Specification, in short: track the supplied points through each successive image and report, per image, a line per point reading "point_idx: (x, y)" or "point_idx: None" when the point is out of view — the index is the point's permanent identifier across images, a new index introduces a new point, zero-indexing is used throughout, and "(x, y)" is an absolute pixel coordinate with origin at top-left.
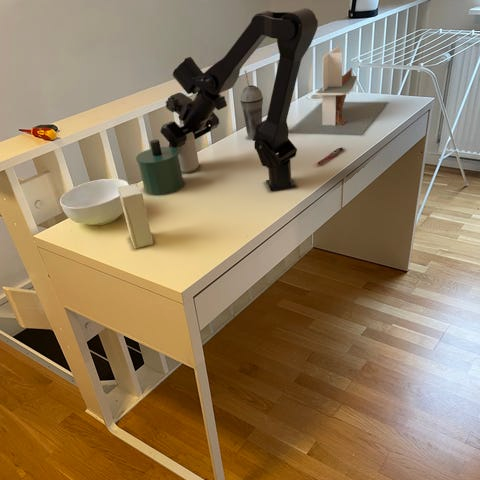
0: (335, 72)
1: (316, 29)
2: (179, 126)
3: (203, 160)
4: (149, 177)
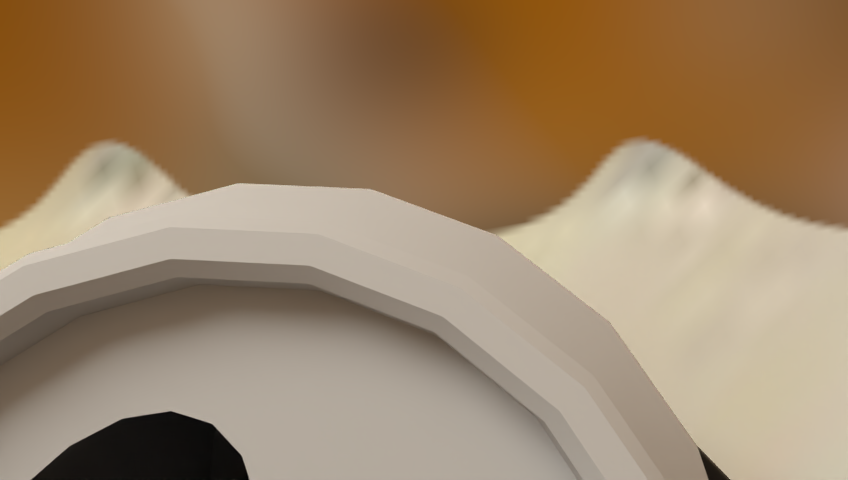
0: None
1: None
2: (527, 411)
3: (714, 462)
4: None
